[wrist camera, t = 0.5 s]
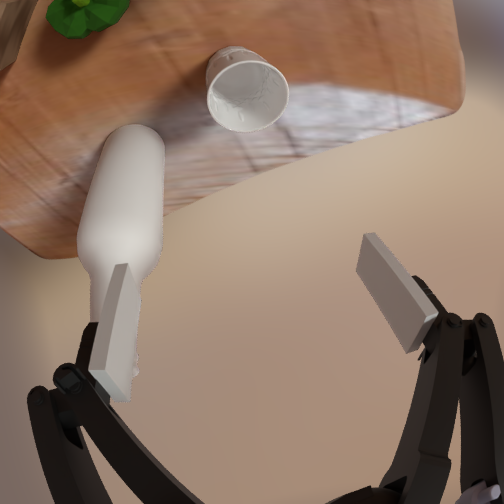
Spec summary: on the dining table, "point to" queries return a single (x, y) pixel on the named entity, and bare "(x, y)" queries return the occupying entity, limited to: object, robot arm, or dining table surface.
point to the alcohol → (123, 212)
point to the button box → (13, 27)
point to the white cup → (244, 90)
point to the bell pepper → (84, 16)
